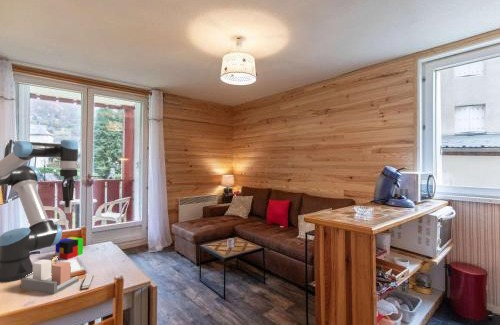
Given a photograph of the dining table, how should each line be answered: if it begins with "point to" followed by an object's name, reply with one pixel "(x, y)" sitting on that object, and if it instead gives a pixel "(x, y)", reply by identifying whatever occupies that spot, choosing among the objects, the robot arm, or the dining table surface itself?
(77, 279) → the base
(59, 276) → the salmon pink block
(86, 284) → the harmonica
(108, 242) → the dining table surface
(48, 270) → the white rectangular block
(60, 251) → the puzzle toy
